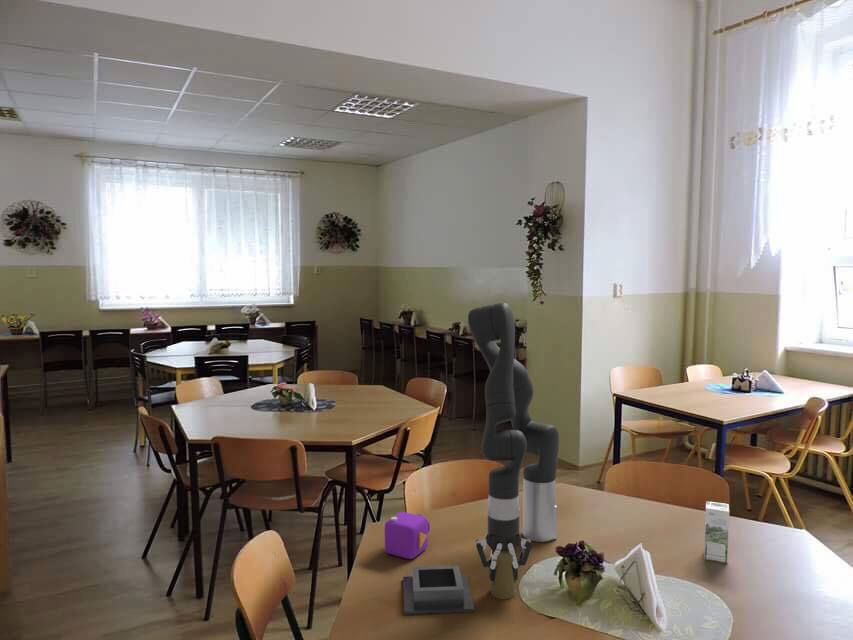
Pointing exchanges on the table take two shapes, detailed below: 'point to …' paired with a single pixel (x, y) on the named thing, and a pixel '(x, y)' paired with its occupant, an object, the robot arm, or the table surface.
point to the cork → (504, 577)
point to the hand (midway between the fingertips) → (503, 581)
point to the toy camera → (406, 535)
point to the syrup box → (716, 532)
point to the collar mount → (437, 591)
